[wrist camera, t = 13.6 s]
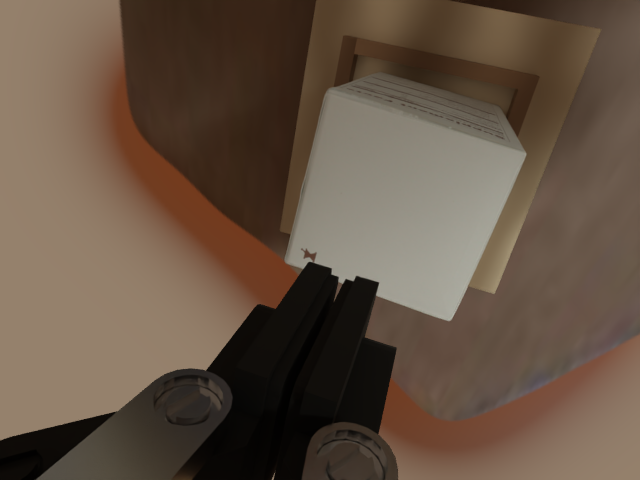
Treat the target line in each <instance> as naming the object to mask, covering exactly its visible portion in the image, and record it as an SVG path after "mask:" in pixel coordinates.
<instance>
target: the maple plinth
mask: <svg viewBox="0 0 640 480" xmlns="http://www.w3.org/2000/svg"><path fill="white" fill-rule="evenodd" d="M600 31H601V29H598V28H592V27H587V26H582V25H576V24H571V23H566V22H561V21H555V20H550V19H545V18H539V17H534V16H529V15H524V14H518V13H513V12H508V11H503V10H497V9H492V8H487V7H481V6H476V5H471V4H466V3H460V2H455V1H450V0H316V5H315V11H314V17H313V24H312V30H311V36H310V43H309V49H308V55H307V62H306V68H305V74H304V80H303V87H302V93H301V99H300V106H299V112H298V118H297V125H296V131H295V137H294V144H293V150H292V156H291V162H290V169H289V175H288V181H287V188H286V194H285V200H284V207H283V213H282V219H281V226H280V232H283V233H287V234H290V235H291V232H292V228H293V224H294V220H295V216H296V212H297V208H298V204H299V199H300V192H301V188H302V184H303V181H304V177H305V174H306V170H307V166H308V162H309V158H310V154H311V150H312V146H313V141H314V137H315V133H316V129H317V125H318V120H319V116H320V112H321V108H322V104H323V99H324V96H325V93H326V91H327V90H328V89H329V88H332V87H338V86H341V85H343V84H346V83H349V82H352V81H354V80H357V79H360V78H363V77H366V76H369V75H371V74H375V73H378V72H383V73H387V74H391V75H394V76H398V77H401V78H405V79H408V80H412V81H415V82H419V83H422V84H426V85H429V86H433V87H436V88H439V89H443V90H446V91H450V92H453V93H457V94H460V95H463V96H467V97H470V98H473V99H477V100H480V101H484V102H487V103H491V104H495V105H498V106H500V108H501V109H502V111H503V113H504V115H505V116H506V118H507V120H508V122H509V124H510V126H511V127H512V129H513V131H514V132H515V134H516V136H517V138H518V140H519V141H520V143H521V145H522V147H523V149H524V150H525V152H526V157H525V160H524V162H523V164H522V167H521V169H520V171H519V174H518V176H517V178H516V181H515V183H514V185H513V188H512V190H511V192H510V194H509V196H508V199H507V201H506V203H505V205H504V208H503V210H502V212H501V214H500V216H499V219H498V221H497V223H496V225H495V228H494V230H493V232H492V234H491V237H490V239H489V241H488V243H487V245H486V248H485V250H484V252H483V254H482V257H481V259H480V261H479V263H478V265H477V267H476V270H475V272H474V274H473V276H472V278H471V280H470V283H469V285H468V286H469V287H473V288H476V289H480V290H483V291H487V292H490V293H493V294H495V292H496V289H497V287H498V284H499V282H500V279H501V277H502V274H503V272H504V269H505V267H506V264H507V262H508V259H509V257H510V254H511V252H512V249H513V247H514V245H515V242H516V240H517V237H518V235H519V232H520V230H521V227H522V225H523V222H524V220H525V217H526V215H527V212H528V210H529V207H530V205H531V202H532V200H533V197H534V195H535V192H536V190H537V188H538V185H539V183H540V180H541V178H542V175H543V173H544V170H545V168H546V165H547V163H548V160H549V158H550V155H551V153H552V150H553V148H554V145H555V143H556V140H557V138H558V135H559V133H560V131H561V128H562V126H563V123H564V121H565V118H566V116H567V113H568V111H569V108H570V106H571V103H572V101H573V98H574V96H575V93H576V91H577V88H578V86H579V83H580V81H581V78H582V76H583V74H584V71H585V69H586V66H587V64H588V61H589V59H590V56H591V54H592V51H593V49H594V46H595V44H596V41H597V39H598V36H599V34H600Z"/></svg>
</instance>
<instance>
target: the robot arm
mask: <svg viewBox="0 0 640 480" xmlns="http://www.w3.org/2000/svg"><path fill="white" fill-rule="evenodd" d="M331 274H332V268H329V267H326V266H323V265H319V264H316V263H313V262H308V263H307V265H306V266H305V267H304V269H303V270H302V272H301V273H300V275H299V276H298V278H297V279H296V281H295V282H294V284H293V285H292V286H291V288H290V289H289V291H288V292H287V294H286V295H285V297H284V298H283V299H282V301H281V302H280V304H279V305H278V307H277V308H276V309H274V308H270V307H267V306H265V305H261V304H259V305H257V306H256V307H255V308H254V309H253V310H252V312H251V313H250V314H249V316H248V317H247V318H246V320H245V321H244V322H243V323H242V325H241V326H240V327H239V329H238V330H237V331H236V332H235V334H234V335H233V336H232V338H231V339H230V340H229V342H228V343H227V344H226V346H225V347H224V348H223V349H222V351H221V352H220V353H219V354H218V356H217V357H216V358H215V360H214V361H213V362H212V364H211V365H210V366H209V367H208V369H207V370H206V371H205V370H200V369H181V370H176V371H173V372H170V373H167V374H164V375H163V376H161V377H160V378H158V379H156V380H155V381H154V382H152V383H151V384H150V385H149V386H148V387H147V388H145V389H144V390H143V391H142V392H140V393H139V394H138V395H137V396H136V397H134V398H133V399H132V400H131V401H130V402H129V403H127V404H126V405H125V406H124V407H122V408H121V409H120V410H119V411H117V412H113V413H109V414H104V415H100V416H96V417H92V418H88V419H84V420H79V421H75V422H71V423H67V424H63V425H58V426H55V427H50V428H46V429H42V430H38V431H34V432H29V433H25V434H21V435H17V436H12V437H9V438H6V439H3V440H1V441H0V480H272V477H273V475H274V473H275V476H274V480H398V469H397V463H396V458H395V456H394V454H393V452H392V450H391V448H390V446H389V445H388V444H387V443H386V442H385V441H384V440H383V439H382V438H381V437H380V436H379V435H378V433H379V429H380V424H381V420H382V414H383V410H384V405H385V400H386V396H387V392H388V387H389V382H390V378H391V373H392V368H393V364H394V359H395V354H396V347H393V346H390V345H386V344H383V343H380V342H377V341H374V340H371V339H368V338H365V334H366V330H367V326H368V323H369V319H370V315H371V312H372V308H373V305H374V301H375V297H376V294H377V290H378V286H379V282H376V281H373V280H370V279H366V278H363V277H360V276H356V277H355V279H354V281H351V280H348V279H345V281H344V283H343V285H342V287H341V289H340V291H339V293H338V295H337V297H336V299H335V301H334V298H335V294H336V289H337V285H338V280H339V277H338V276H335V275H331ZM275 470H276V471H275Z"/></svg>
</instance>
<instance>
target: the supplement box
mask: <svg viewBox="0 0 640 480" xmlns="http://www.w3.org/2000/svg"><path fill="white" fill-rule="evenodd" d="M525 157H526V152H525V150H524V149H523V147H522V145H521V143H520V141H519V140H518V138H517V136H516V134H515V132H514V131H513V129H512V127H511V126H510V124H509V122H508V120H507V118H506V116H505V115H504V113H503V111H502V109H501V108H500V106H498V105H495V104H491V103H487V102H484V101H480V100H477V99H473V98H470V97H467V96H463V95H460V94H457V93H453V92H450V91H446V90H443V89H439V88H436V87H433V86H429V85H426V84H422V83H419V82H415V81H412V80H408V79H405V78H401V77H398V76H394V75H391V74H387V73H383V72H378V73H375V74H371V75H369V76H366V77H363V78H360V79H357V80H354V81H352V82H349V83H346V84H343V85H341V86H338V87H332V88H329V89H328V90H327V91H326V93H325V96H324V99H323V104H322V108H321V112H320V116H319V120H318V125H317V129H316V133H315V137H314V141H313V146H312V150H311V154H310V158H309V162H308V166H307V170H306V174H305V177H304V181H303V184H302V188H301V192H300V199H299V204H298V208H297V212H296V216H295V220H294V224H293V228H292V232H291V236H290V240H289V244H288V248H287V252H286V256H285V259H284V260H285V263H286V264H289V265H292V266H295V267H298V268H301V269H304V267H305V266H306V265H307V263H308V262H313V263H316V264H319V265H323V266H326V267H329V268H332V274H331V275H335V276H338V277H339V280H338V282H340V283H344V281H345V279H348V280H351V281H354V279H355V277H356V276H360V277H363V278H366V279H370V280H373V281H376V282H379V286H378V290H377V294H376V296H378V297H381V298H384V299H387V300H390V301H392V302H395V303H398V304H401V305H404V306H406V307H409V308H412V309H414V310H417V311H420V312H423V313H425V314H428V315H431V316H434V317H437V318H440V319H443V320H447V321H450V320H452V318H453V316H454V314H455V312H456V310H457V308H458V306H459V304H460V302H461V300H462V298H463V296H464V293H465V291H466V289H467V287H468V285H469V283H470V280H471V278H472V276H473V274H474V272H475V270H476V267H477V265H478V263H479V261H480V259H481V257H482V254H483V252H484V250H485V248H486V245H487V243H488V241H489V239H490V237H491V234H492V232H493V230H494V228H495V225H496V223H497V221H498V219H499V216H500V214H501V212H502V210H503V208H504V205H505V203H506V201H507V199H508V196H509V194H510V192H511V190H512V188H513V185H514V183H515V181H516V178H517V176H518V174H519V171H520V169H521V167H522V164H523V162H524V160H525Z"/></svg>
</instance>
